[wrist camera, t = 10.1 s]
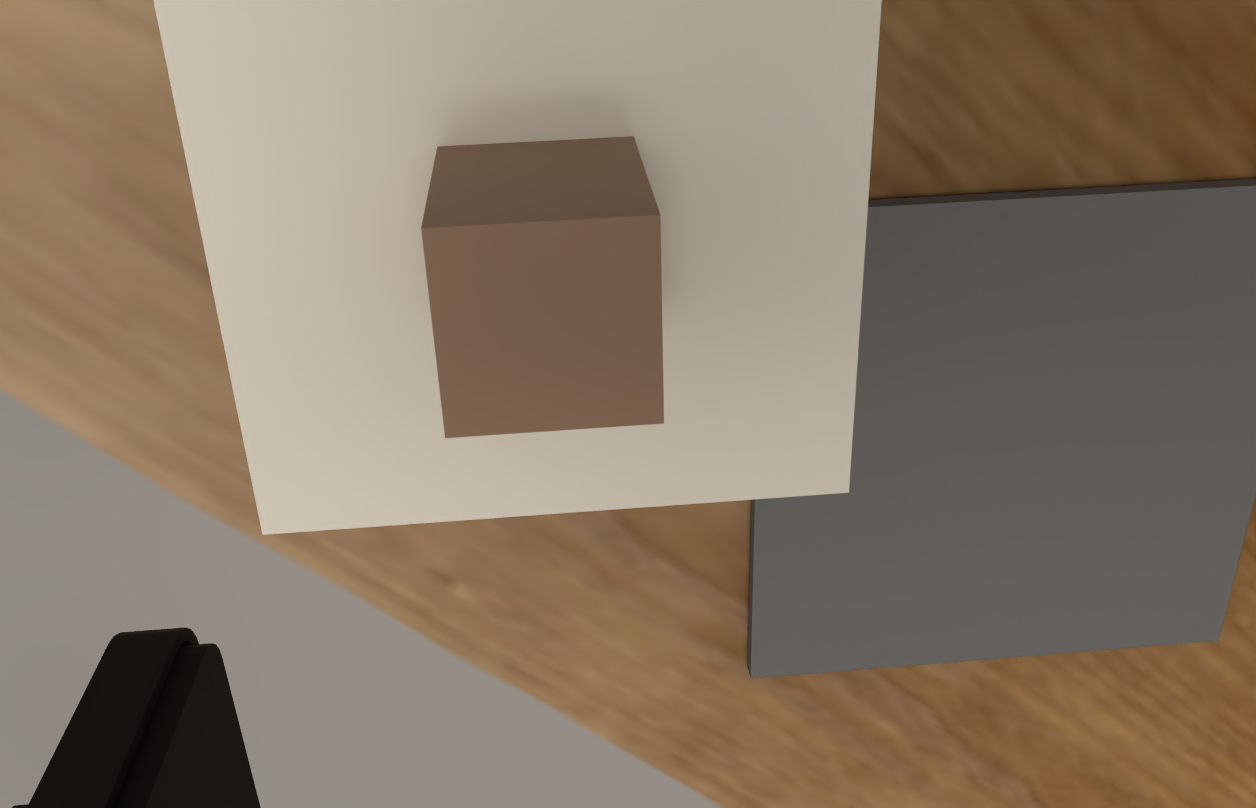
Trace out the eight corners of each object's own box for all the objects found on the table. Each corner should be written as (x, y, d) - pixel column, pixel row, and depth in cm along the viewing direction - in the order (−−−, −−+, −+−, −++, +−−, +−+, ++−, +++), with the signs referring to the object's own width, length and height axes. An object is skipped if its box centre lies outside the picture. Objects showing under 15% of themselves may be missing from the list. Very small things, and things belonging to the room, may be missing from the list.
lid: (879, -143, 23) (983, -121, 18) (841, 475, 30) (909, 620, 25) (142, -115, 22) (33, -83, 17) (268, 516, 29) (216, 675, 24)
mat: (1321, 174, 34) (1334, 181, 33) (1209, 629, 41) (1218, 640, 41) (757, 206, 33) (762, 213, 32) (747, 666, 40) (750, 678, 40)
